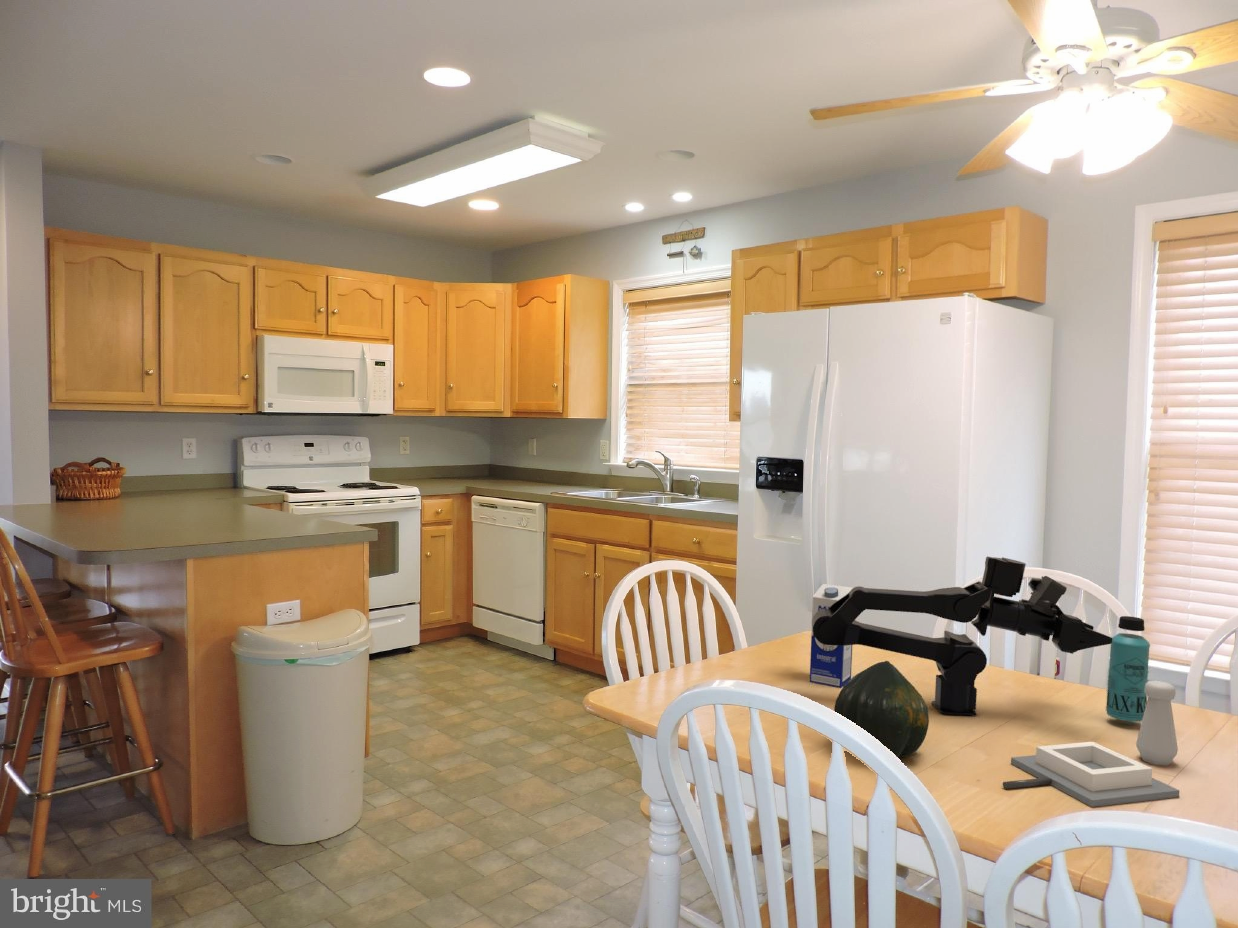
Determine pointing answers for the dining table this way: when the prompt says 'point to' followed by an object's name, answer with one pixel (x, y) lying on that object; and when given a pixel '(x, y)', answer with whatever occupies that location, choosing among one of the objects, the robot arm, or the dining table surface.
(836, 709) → the squash
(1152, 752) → the salt shaker
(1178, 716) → the dining table surface
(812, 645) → the milk carton
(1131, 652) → the beverage bottle
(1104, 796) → the dock
